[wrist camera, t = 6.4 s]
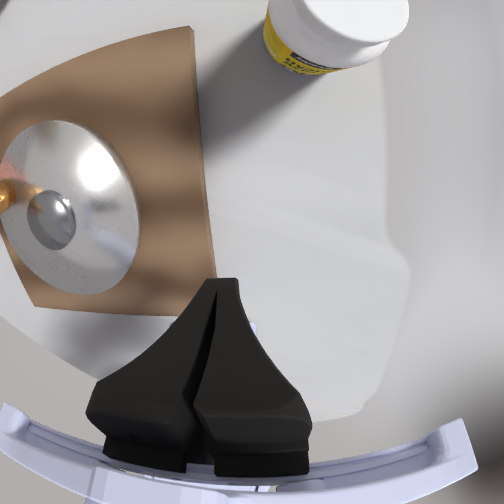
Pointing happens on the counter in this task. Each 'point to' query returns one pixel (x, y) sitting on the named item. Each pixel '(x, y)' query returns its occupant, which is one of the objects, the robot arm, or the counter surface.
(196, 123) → the post board
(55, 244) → the silver rounded shallow piece
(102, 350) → the counter surface
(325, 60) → the supplement bottle
